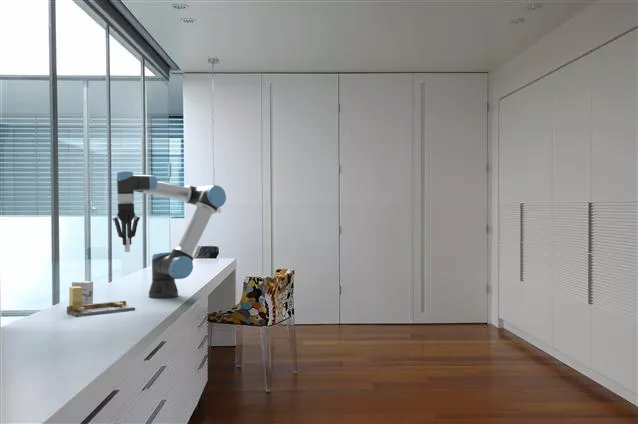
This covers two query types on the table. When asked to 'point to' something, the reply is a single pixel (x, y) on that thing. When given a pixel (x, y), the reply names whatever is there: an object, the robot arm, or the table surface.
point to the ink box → (85, 291)
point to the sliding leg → (75, 298)
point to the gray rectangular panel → (101, 310)
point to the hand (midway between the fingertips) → (127, 251)
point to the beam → (100, 305)
